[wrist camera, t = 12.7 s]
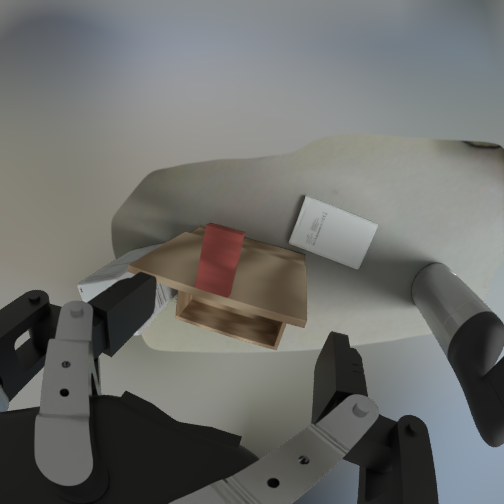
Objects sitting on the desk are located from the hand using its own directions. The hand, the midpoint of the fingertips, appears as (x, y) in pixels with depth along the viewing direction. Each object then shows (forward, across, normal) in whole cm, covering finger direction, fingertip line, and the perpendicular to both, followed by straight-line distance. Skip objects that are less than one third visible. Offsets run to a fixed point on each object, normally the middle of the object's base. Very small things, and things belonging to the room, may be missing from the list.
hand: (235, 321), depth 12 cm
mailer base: (+34, +5, +15) cm, 37 cm away
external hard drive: (+34, -8, +2) cm, 35 cm away
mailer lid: (+19, +4, +7) cm, 21 cm away
